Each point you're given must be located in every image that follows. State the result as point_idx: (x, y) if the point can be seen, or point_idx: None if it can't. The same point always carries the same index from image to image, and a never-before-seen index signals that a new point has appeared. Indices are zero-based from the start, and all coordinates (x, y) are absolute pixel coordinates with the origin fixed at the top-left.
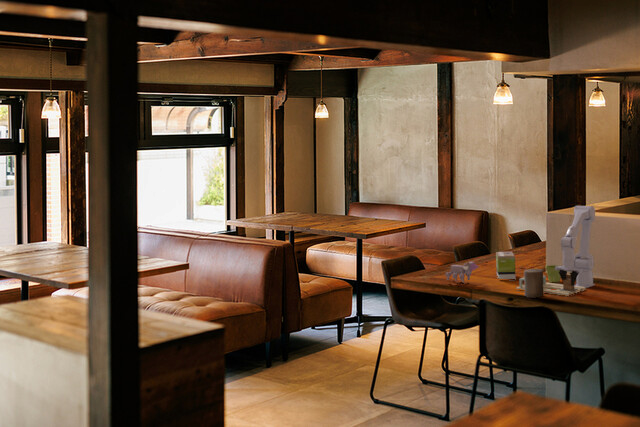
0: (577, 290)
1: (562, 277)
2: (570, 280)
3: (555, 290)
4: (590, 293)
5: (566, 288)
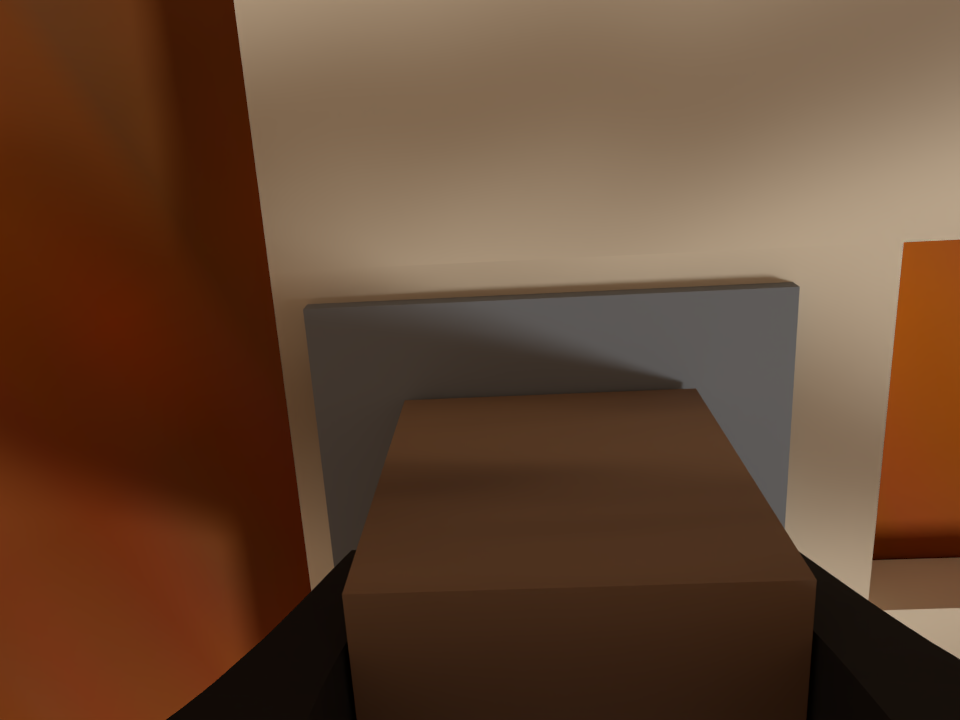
0: None
1: (942, 707)
2: (394, 660)
3: (907, 162)
4: (35, 681)
5: (569, 408)
